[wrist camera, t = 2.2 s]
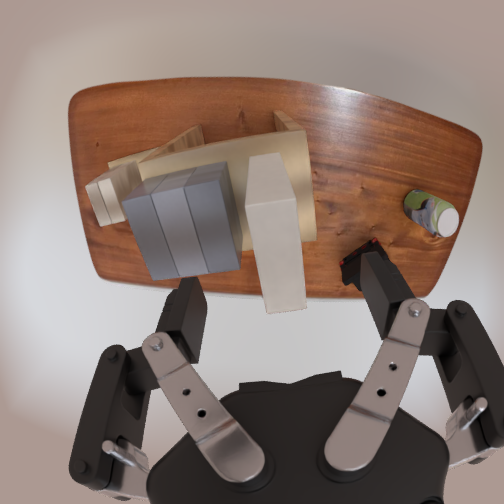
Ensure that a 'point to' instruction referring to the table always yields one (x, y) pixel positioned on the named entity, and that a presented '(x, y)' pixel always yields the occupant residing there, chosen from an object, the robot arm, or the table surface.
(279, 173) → the white book
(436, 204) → the beverage can
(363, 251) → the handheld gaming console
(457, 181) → the table surface
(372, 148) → the table surface
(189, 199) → the wooden stand
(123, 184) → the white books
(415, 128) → the table surface
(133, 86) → the table surface
